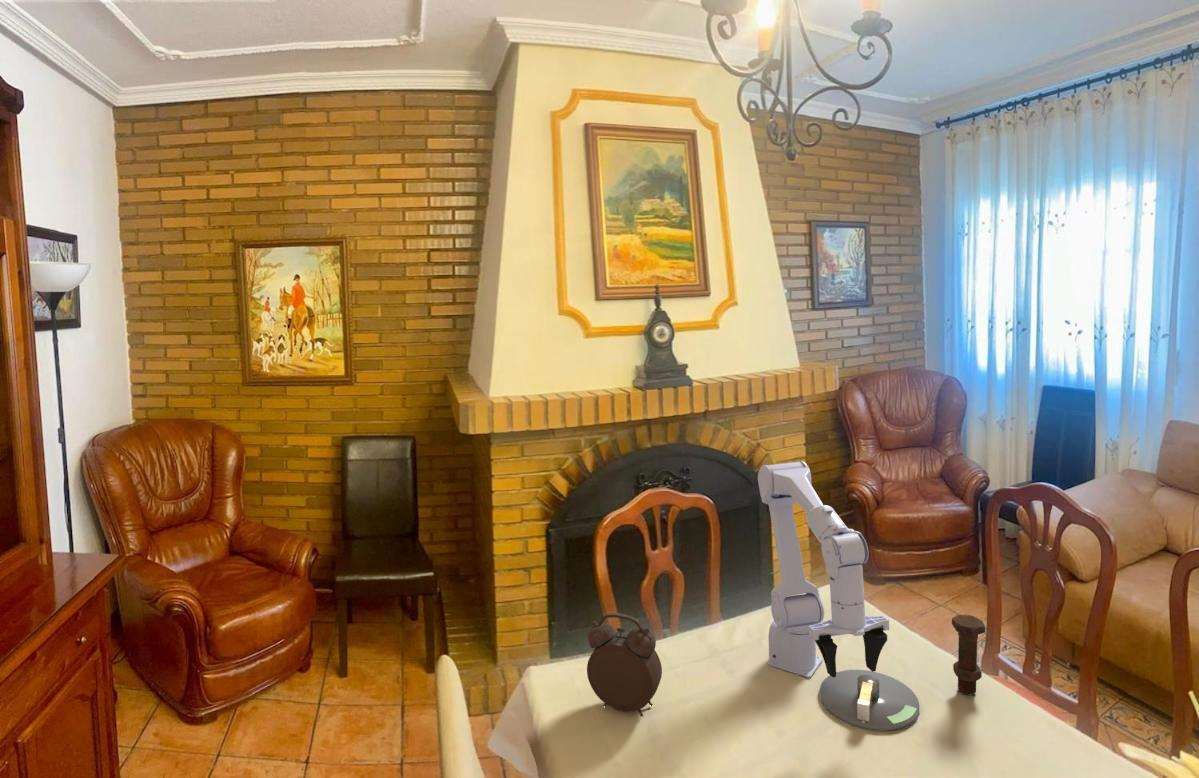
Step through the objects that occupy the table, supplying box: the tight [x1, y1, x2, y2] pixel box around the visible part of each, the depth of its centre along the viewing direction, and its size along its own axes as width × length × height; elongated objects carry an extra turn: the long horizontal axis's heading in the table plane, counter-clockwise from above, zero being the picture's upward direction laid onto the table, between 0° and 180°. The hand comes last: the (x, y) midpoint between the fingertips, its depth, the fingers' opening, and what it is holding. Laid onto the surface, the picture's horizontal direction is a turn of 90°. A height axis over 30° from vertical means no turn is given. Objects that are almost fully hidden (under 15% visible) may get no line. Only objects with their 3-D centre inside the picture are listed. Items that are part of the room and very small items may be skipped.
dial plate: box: [819, 669, 920, 733], centre depth 129 cm, size 18×18×1 cm
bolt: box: [951, 614, 986, 695], centre depth 128 cm, size 6×5×15 cm
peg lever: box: [857, 675, 879, 722], centre depth 125 cm, size 11×4×3 cm, turn 152°
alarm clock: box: [586, 612, 663, 717], centre depth 130 cm, size 14×7×20 cm, turn 65°
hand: (851, 671), depth 120 cm, fingers open, 7 cm apart
